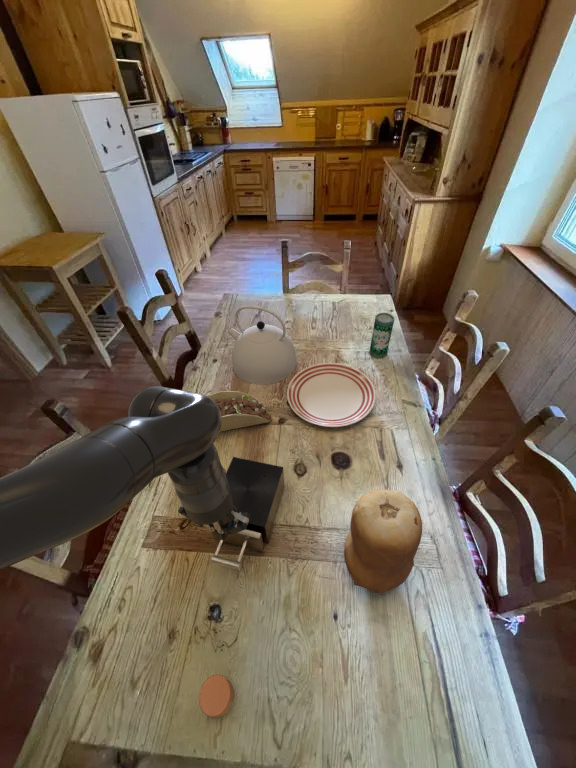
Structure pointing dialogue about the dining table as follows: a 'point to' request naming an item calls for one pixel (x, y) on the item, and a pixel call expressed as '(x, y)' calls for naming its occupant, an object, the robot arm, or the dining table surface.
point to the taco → (240, 409)
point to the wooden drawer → (243, 538)
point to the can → (381, 335)
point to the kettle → (262, 352)
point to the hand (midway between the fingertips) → (222, 534)
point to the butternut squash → (382, 540)
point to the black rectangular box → (256, 491)
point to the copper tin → (216, 696)
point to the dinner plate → (331, 395)
